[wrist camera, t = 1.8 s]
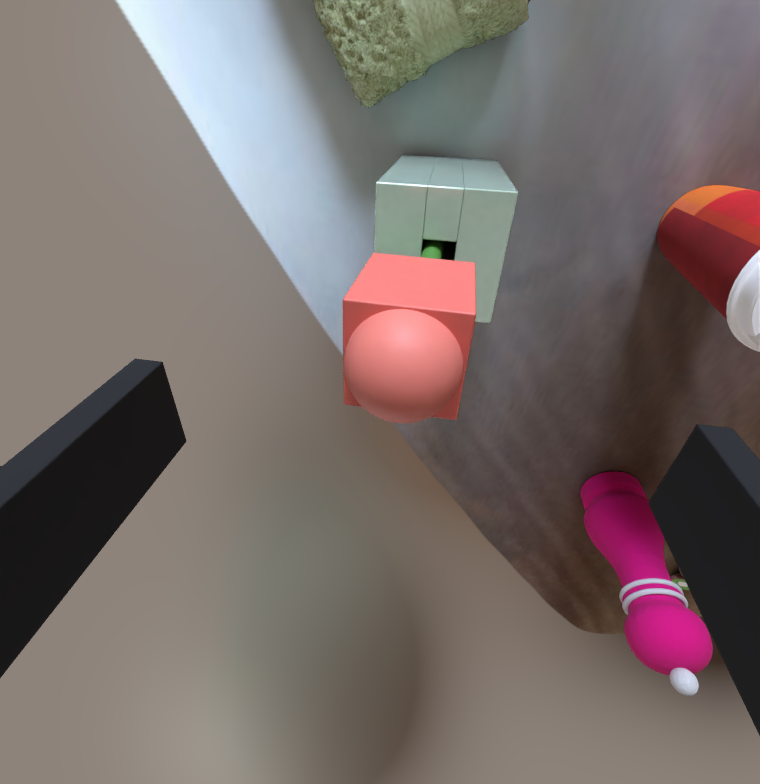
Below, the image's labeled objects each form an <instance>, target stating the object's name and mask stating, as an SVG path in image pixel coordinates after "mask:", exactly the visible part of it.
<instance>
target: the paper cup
mask: <svg viewBox="0 0 760 784" xmlns="http://www.w3.org/2000/svg"><path fill="white" fill-rule="evenodd" d="M657 242H658V246H659V248H660V250H661V252H662V253H663V255H664V256H665V257H666V258H667V259H668V261H669V262H670V263H671V264H672V265H673V266H674V267H675V268H676V269H677V270H678V271H679V272H680V273H681V274H682V275H683V276H684V277H685V278H686V279H687V280H688V281H689V282H690V283H691V284H692V285H693V286H694V287H695V288H696V289H697V290H698V291H699V292H700V293H701V294H702V295H703V296H704V297H705V298H706V299H707V300H708V301H709V302H710V303H711V304H712V305H713V306H714V307H715V308H716V309H717V310H718V311H719V312H720V313H721V314H722V315H723V316H724V317H725V318H726V319H727V322H728V325H729V327H730V330H731V332H732V333H733V334H734V336H735V337H736V338H737V339H738V340H739V341H740V342H741V343H742V344H744V345H745V346H747V347H749V348H751V349H753V350H756V351H759V352H760V191H755V190H749V189H744V188H738V187H731V186H723V185H710V186H704V187H700V188H697V189H695V190H692V191H690V192H688V193H687V194H685V195H683V196H682V197H680V198H679V199H678V200H677V201H676V202H674V203H673V204H672V205H671V207H670V208H669V209H668V210H667V211H666V213H665V214H664V216H663V218H662V220H661V222H660V224H659V227H658V232H657Z"/></svg>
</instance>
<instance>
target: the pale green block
mask: <svg viewBox="0 0 760 784" xmlns="http://www.w3.org/2000/svg"><path fill="white" fill-rule="evenodd" d="M517 197H518V191H517V190H516V188H515V187H514V185H513V184H512V182H511V181H510V179H509V177H508V176H507V174H506V173H505V171H504V170H503V168H502V167H501V165H500V164H499V162H498V161H497V160H485V159H469V158H453V157H437V156H422V155H406V154H404V155H402V156H401V157H400V158H399V160H398V161H397V162H396V163H395V164H394V165H393V166H392V167H391V168H390V169H389V170H388V171H387V172H386V173H385V174H384V175H383V176H382V177H381V178H380V179H379V180H378V181H377V182H376V198H375V230H374V253H382V254H393V255H403V256H413V257H421V254H422V251H423V248H424V245H425V242H426V240H438V241H445V242H444V247H443V252H442V257H441V259H444V260H455V261H465V262H474V263H475V269H476V320H475V322H482V323H491V319H492V315H493V310H494V305H495V301H496V296H497V291H498V286H499V282H500V277H501V272H502V268H503V263H504V258H505V254H506V249H507V244H508V240H509V235H510V230H511V225H512V221H513V216H514V211H515V207H516V202H517Z"/></svg>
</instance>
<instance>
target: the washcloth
mask: <svg viewBox="0 0 760 784" xmlns="http://www.w3.org/2000/svg"><path fill="white" fill-rule="evenodd" d="M529 1H530V0H313V2H314V3H315V10H316V12H317V18H318V20H319V22H320V24H321V25H322V27H323V28H325V30H324V32H323V33H324V35H325V37H326V39H327V41H328V42H329V43H330V44H331V46H332V47H333V52H334V53H335V55H336V58H337V61H338V63H339V65H340V66H341V67H342V69H343V70H344V72H345V74H346V80H347V81H349V82H350V85H351V87H352V90H353V92H354V94H355V96H356V99H357V98H359V100H360V102H361V105H360V106H362V105H364V106H365V107H368V108H369V107H370V106H373V105H375V102H376V101H381V100H382V99H383V97H385V96H388V95H389V94H390V92H392V91H398V90H399V88H401V87H402V86H404V84H405V83H407V82H408V81H410V80H417V79H419V78H420V76H421V75H423V76H425V74H426V72H427V70H428V68H429V66H431V65H432V64H433V63H436V62H439V61H440V60H442V59H443V58H445V57H447V56H449V55H451V54H452V53H453V52H455V51H457V50H459V49H460V48H462V47H464V48H470V47H472V46H476V45H478V44H479V43H484V41H485V39H487V40H492V39H493V38H495V37H496V36H502V35H505V34H508V33H509V32H511V31H513V30H516V29H517V28H518V26H519V25H521V24H523V23H524V22H525V21H527V20H528V18H529V16H528V3H529Z"/></svg>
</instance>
